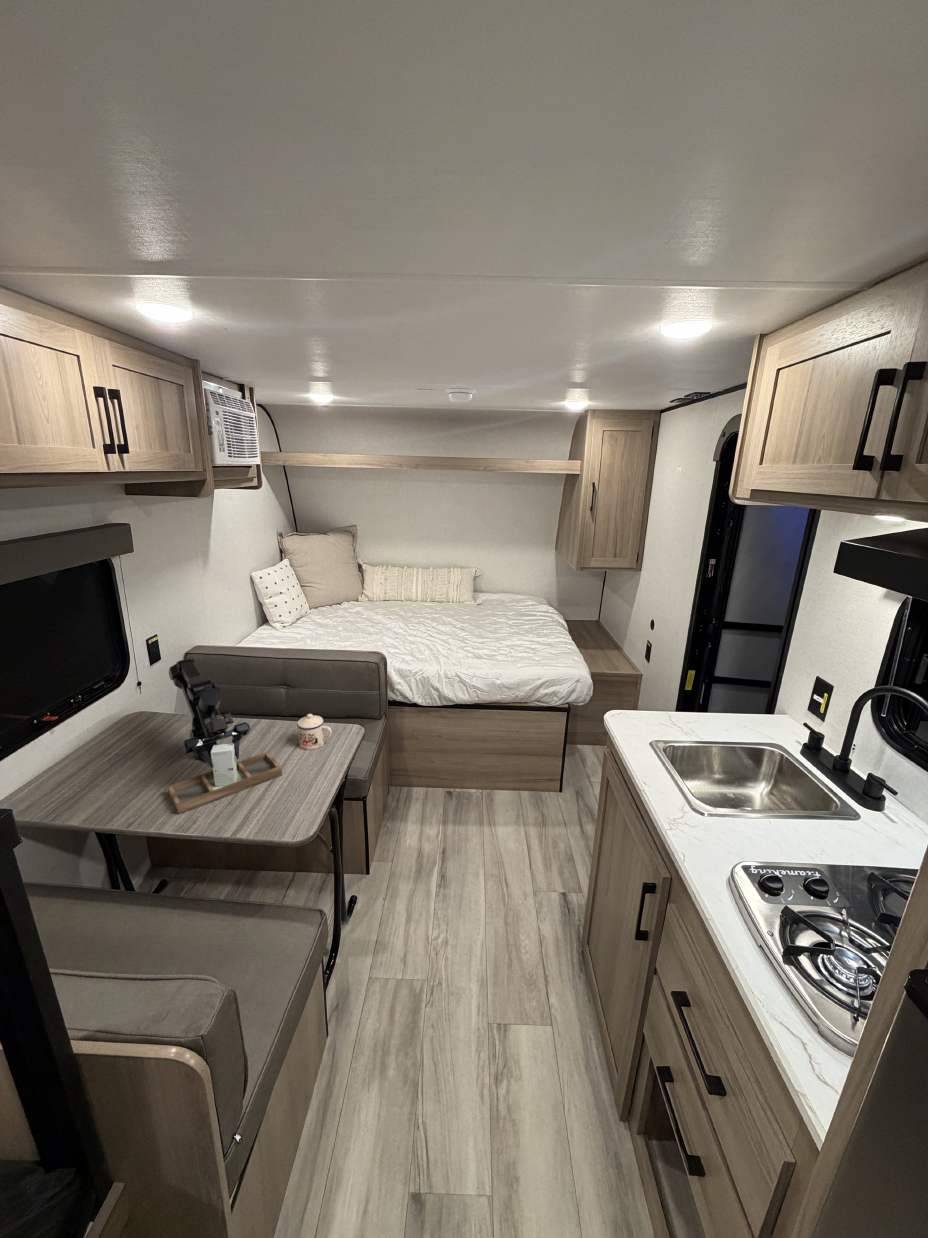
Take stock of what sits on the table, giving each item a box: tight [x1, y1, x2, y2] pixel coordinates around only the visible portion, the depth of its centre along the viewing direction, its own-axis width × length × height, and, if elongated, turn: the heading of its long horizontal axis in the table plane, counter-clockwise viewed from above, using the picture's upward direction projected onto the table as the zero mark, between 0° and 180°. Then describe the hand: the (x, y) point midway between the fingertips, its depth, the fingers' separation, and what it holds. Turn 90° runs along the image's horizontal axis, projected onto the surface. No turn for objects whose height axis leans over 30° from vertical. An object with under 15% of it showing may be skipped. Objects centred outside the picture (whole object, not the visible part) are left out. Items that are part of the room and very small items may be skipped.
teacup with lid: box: [296, 713, 333, 751], centre depth 180 cm, size 12×9×12 cm
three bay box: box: [167, 751, 283, 815], centre depth 157 cm, size 12×30×3 cm, turn 131°
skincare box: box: [211, 743, 238, 786], centre depth 156 cm, size 6×4×12 cm
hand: (225, 763), depth 154 cm, fingers open, 7 cm apart
